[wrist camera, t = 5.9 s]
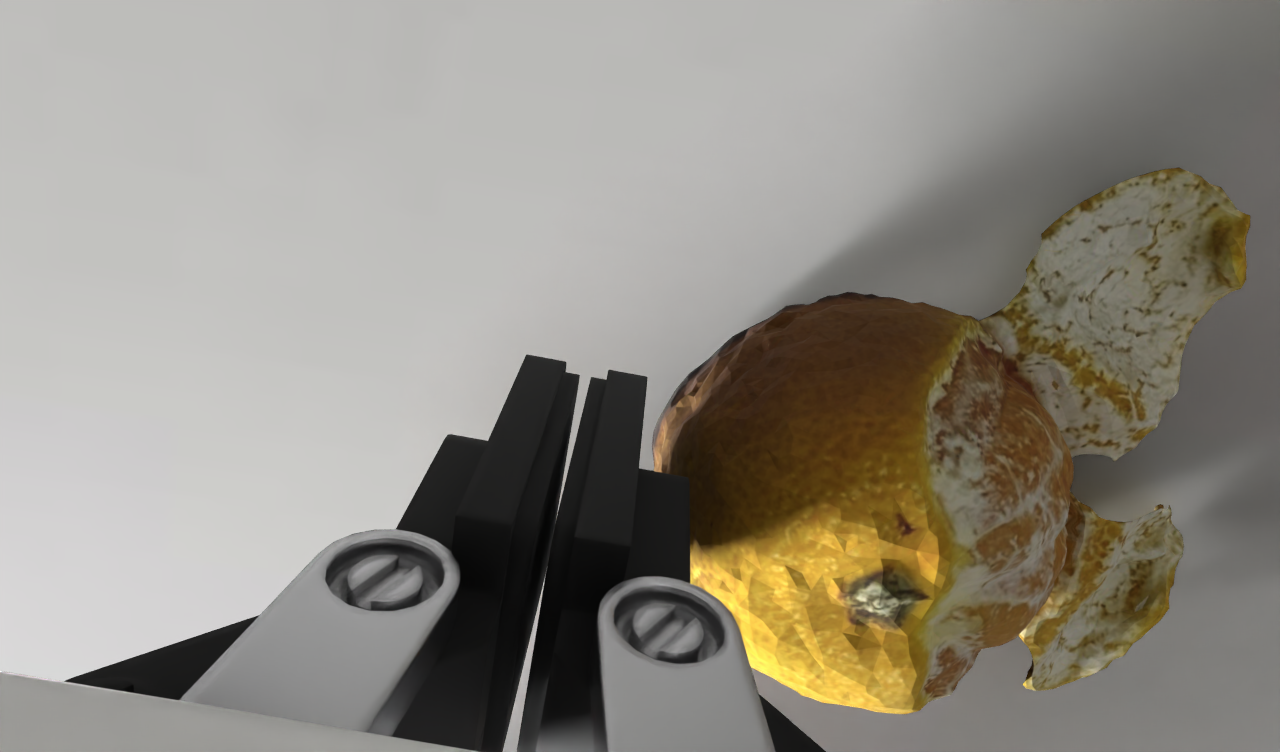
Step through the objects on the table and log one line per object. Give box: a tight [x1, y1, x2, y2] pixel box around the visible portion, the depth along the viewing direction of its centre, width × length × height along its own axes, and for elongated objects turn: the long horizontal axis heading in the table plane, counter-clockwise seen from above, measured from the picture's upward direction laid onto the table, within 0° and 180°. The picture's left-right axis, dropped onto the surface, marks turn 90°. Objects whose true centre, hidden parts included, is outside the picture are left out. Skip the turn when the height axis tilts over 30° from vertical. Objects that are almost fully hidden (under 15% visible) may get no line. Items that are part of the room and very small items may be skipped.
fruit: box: [652, 168, 1250, 714], centre depth 12 cm, size 8×8×4 cm
